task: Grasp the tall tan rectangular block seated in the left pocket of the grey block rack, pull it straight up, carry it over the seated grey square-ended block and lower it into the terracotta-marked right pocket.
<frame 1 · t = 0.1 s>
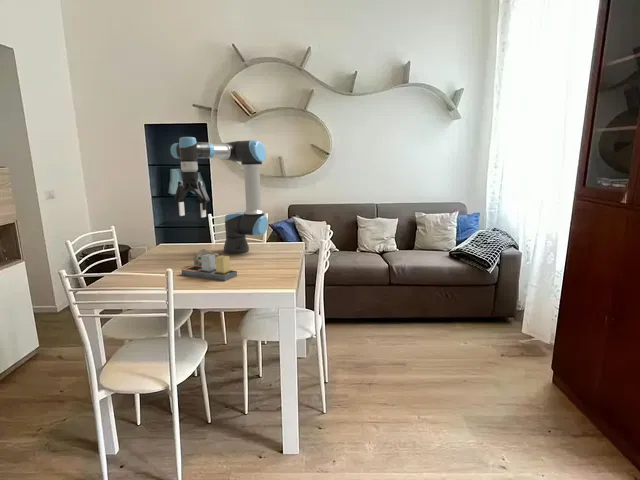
hand: (192, 216, 200), 28 cm above the table, fingers open, 13 cm apart
grey block rack: (209, 275, 201), on the table
tan rectangular block: (223, 277, 197), resting in grey block rack
grey square-ended block: (208, 265, 200), in the grey block rack
rock: (206, 266, 219), on the table
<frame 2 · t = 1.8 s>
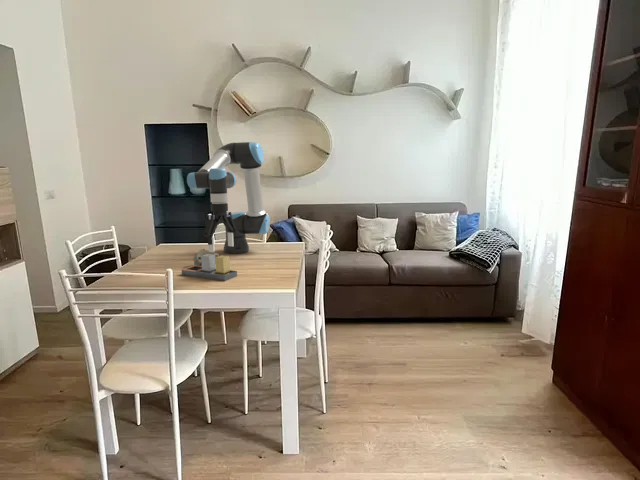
hand: (221, 248, 194), 14 cm above the table, fingers open, 13 cm apart
nothing on the table moved.
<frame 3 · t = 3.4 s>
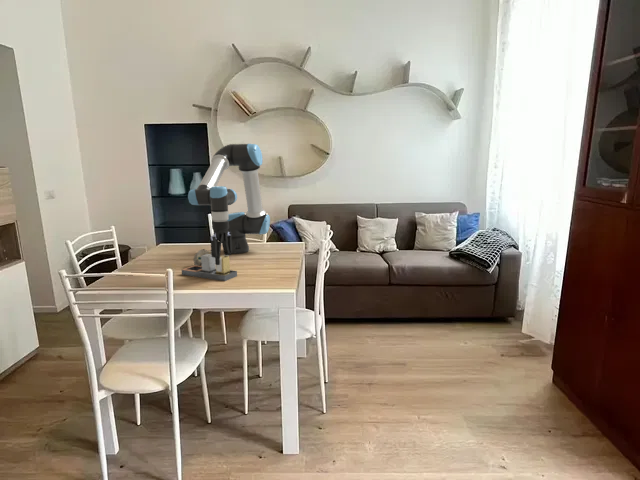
hand: (223, 269, 196), 4 cm above the table, fingers closed on tan rectangular block, 4 cm apart
tan rectangular block: (223, 277, 197), resting in grey block rack, touching gripper
everything else where it was.
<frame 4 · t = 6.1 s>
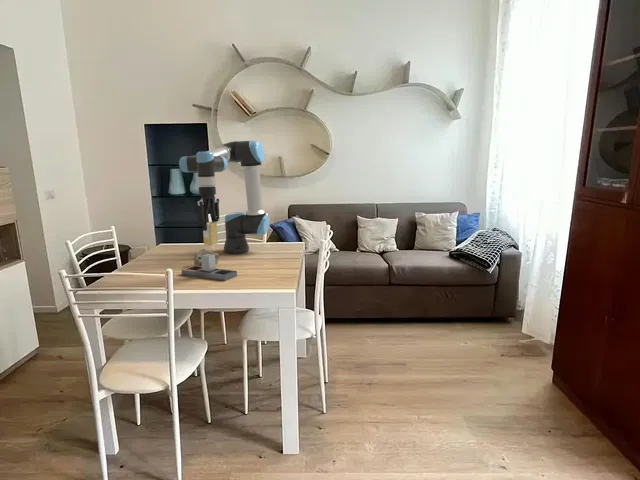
hand: (210, 236, 197), 19 cm above the table, fingers closed on tan rectangular block, 4 cm apart
tan rectangular block: (211, 243, 197), point 15 cm above the table, touching gripper
everything else where it was.
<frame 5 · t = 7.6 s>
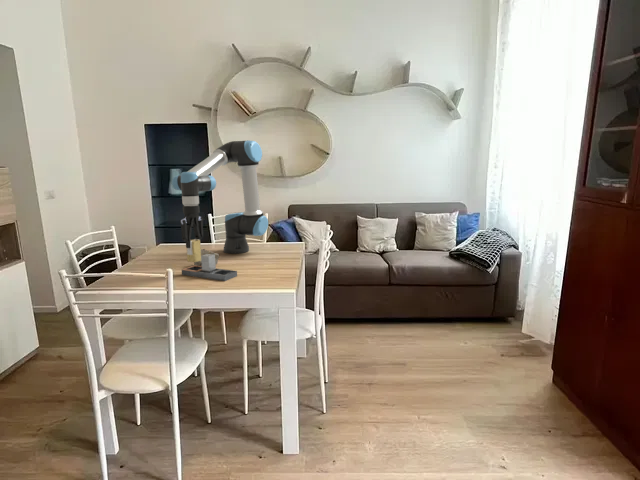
hand: (193, 253, 202), 10 cm above the table, fingers closed on tan rectangular block, 4 cm apart
tan rectangular block: (194, 260, 203), point 6 cm above the table, touching gripper
everything else where it was.
when the fingers open (5 cm above the table, at t = 8.9 s): tan rectangular block stays where it is, resting in grey block rack.
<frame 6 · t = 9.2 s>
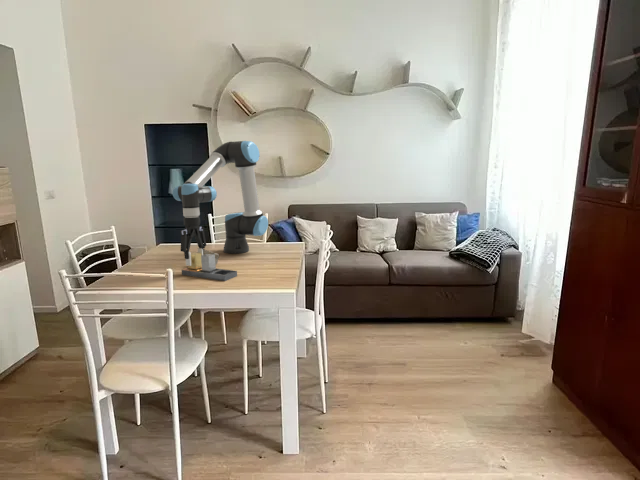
hand: (194, 263, 203), 5 cm above the table, fingers open, 8 cm apart
tan rectangular block: (195, 273, 204), resting in grey block rack
everything else where it was.
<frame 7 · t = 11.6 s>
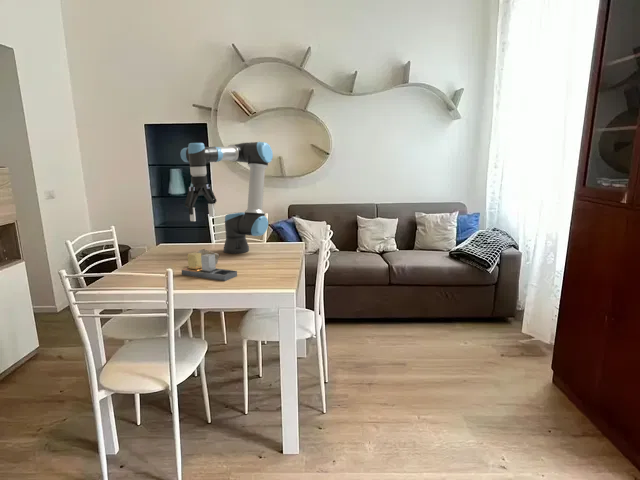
hand: (202, 218, 208), 26 cm above the table, fingers open, 13 cm apart
nothing on the table moved.
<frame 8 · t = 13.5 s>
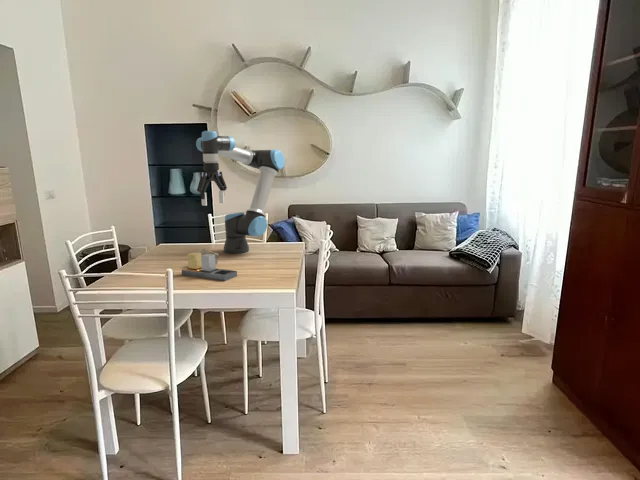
hand: (213, 204, 218), 32 cm above the table, fingers open, 13 cm apart
nothing on the table moved.
at the end: tan rectangular block 0.1 cm from the target spot on the grey block rack, point 0.0 cm above the grey block rack's base; tan rectangular block tilted 0°; grey square-ended block moved 0.0 cm from its start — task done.
